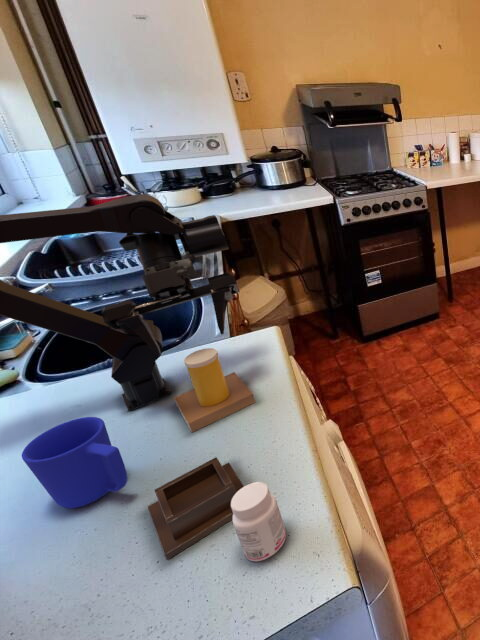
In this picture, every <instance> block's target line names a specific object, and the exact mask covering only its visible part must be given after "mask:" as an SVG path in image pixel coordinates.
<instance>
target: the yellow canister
mask: <svg viewBox="0 0 480 640" xmlns="http://www.w3.org/2000/svg"><path fill="white" fill-rule="evenodd" d="M183 363H184V365H185V367H186V369H187V371H188V375H189V377H190V380H191V383H192V386H193V389H195V392H196V395H197V398H198V400H199V403H200V405H201V406H213V405H216V404H219V403H221V402H222V401H224V400H225V399H226V398H227V397H228V396H229V390H228V387H227V383H226V380H225V377H224V376H225V374H224V371H223V368H222V364H221V361H220V359H219V352H218V350H217V349H216V348H211V347H208V348H202V349H199V350H195V351H193V352H191V353H190V354H188V355H187V356H186V357H184V360H183Z"/></svg>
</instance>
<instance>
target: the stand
mask: <svg viewBox="0 0 480 640" xmlns="http://www.w3.org/2000/svg"><path fill="white" fill-rule="evenodd" d="M244 486H245V485H244V484H243V483H242V481H241V479H240V478H239V476H238V475H237V473H236V472H235V469H234V468H233V467H232V464H231V463H230V462H226V463H225V464H223V465H222V463H221V462H220V460H219V459H218V457H217V456H216V457H214V458H212V459H210V460H208V461H206V462H204V463H202V464H201V465H198V466H197V467H194V468H192V469H191V470H189V471H187V472H185V473H184V474H181V475H179V476H178V477H176V478H174V479H172V480H170V481H168V482H167V483H164V484H162V485H160V486H159V487H157V488H155V489H154V494H155V496H156V498H157V501H154V502H153V503H151V504H149V505H148V506H147V509H148V512H149V515H150V519H151V520H152V524H153V526H154V530H155V533H156V535H157V537H158V540H159V544H160V546H161V549H162V551H163V555H164V557H165V559H166V561H168V560H170V559H172V558H173V557H174V556H176V555H178V554H180V553H182V552H183V551H184V550H186V549H188V548H189V547H191V546H193V545H194V544H196V543H197V542H199V541H200V540H202V539H204V538H205V537H207V536H208V535H210V534H211V533H213V532H215V531H216V530H218V529H219V528H221V527H222V526H224V525H226V524H227V523H229V522H230V521H233V520H232V519H233V511H232V508H231V500H232V498H233V496H234V495H235V494H236V493H237V492H238V491H239V490H240V489H241V488H243V487H244Z"/></svg>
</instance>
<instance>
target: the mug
mask: <svg viewBox="0 0 480 640" xmlns="http://www.w3.org/2000/svg"><path fill="white" fill-rule="evenodd" d="M21 458H22V461H23V462H24V463H25V465H26V466H27V467H28V469H29V470H30V471H31V473H32V474H33V475H34V476H35V478H36V479H37V480H38V482H39V483H40V484H41V486H42V487H43V488H44V489H45V491H46V492H47V493H48V495H49V496H50V497H51V499H52V500H53V501H54V502H55V504H57V506H59V507H61V508H65V509H75V508H79V507H80V508H81V507H83V506H86V505H89V504H92V503H93V502H96V501H97V500H99V499H100V498H102V497H104V496H105V495H106V494H107V493H109V492H118V491H121V489H123V488H124V487H125V486H126V485H127V483H128V473H127V470H126V466H125V463H124V460H123V457H122V454H121V452H120V449H119V448H118V447H117V446H115V445H112V443H111V440H110V436H109V433H108V430H107V427H106V424H105V421H104V420H103V419H102V418H101V417H96V416H86V417H84V416H83V417H79V418H74V419H71V420H69V421H68V420H67V421H65V422H62V423H60V424H58V425H55V426H53V427H51V428H49V429H47V430H46V431H44V432H42V433H41V434H39V435H37V436H35V438H34V439H32V440H31V441H30V442H29V443H28V444H27V445H26V446H25V447H24V448H23V451H22V452H21Z"/></svg>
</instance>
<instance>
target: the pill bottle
mask: <svg viewBox="0 0 480 640" xmlns="http://www.w3.org/2000/svg"><path fill="white" fill-rule="evenodd" d="M243 486H244V487H243V488H241V489H240V490H239V491H238V492H237V493H236V494H235V495H234V496H233V498H232V500H231V508H232V511H233V519H232V520H231V521H232V525H233V527H234V531H235V533H236V535H237V538H238V541H239V544H240V545H241V549H242V552H243V554H244V556H245V558H246V559H248V561H251V562H261V561H264V560H267V559H268V558H271V557H272V556H274V555H275V554H276V553H277V552H278V551H279V550H280V549H281V548H282V546H283V545H284V543H285V541H286V537H287V531H286V527H285V524H284V520H283V517H282V514H281V510H280V507H279V505H278V501H277V499H276V497H275V496H274V495H273V494H272V493H271V491H270V489H269V487H268V484H266V483H265V482H262V481H256V482H255V481H254V482H251V483H248V484H246V485H243Z"/></svg>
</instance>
